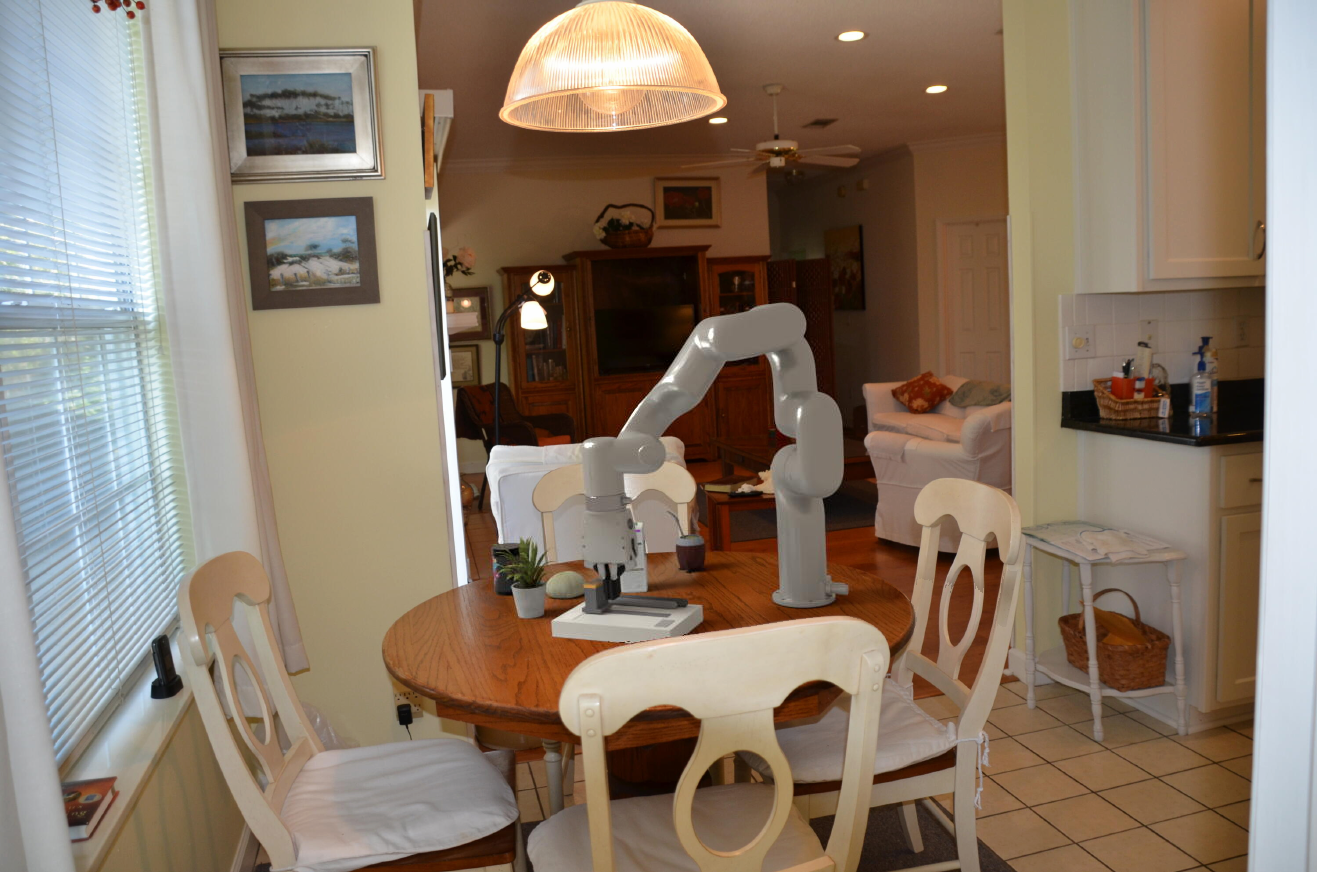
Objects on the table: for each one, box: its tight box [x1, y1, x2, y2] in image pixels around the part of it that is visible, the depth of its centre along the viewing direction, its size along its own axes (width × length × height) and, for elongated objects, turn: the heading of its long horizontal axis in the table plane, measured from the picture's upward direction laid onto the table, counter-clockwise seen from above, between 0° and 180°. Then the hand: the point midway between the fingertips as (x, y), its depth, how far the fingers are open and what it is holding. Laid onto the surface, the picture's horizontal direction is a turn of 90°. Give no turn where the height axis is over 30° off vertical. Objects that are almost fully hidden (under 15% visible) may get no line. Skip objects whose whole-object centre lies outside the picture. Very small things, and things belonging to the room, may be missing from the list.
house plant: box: [492, 536, 556, 619], centre depth 189 cm, size 14×14×16 cm
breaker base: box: [550, 593, 704, 644], centre depth 176 cm, size 24×16×5 cm, turn 66°
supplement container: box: [491, 542, 523, 596], centre depth 207 cm, size 7×7×10 cm
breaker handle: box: [582, 577, 613, 614], centre depth 178 cm, size 4×5×5 cm
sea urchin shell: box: [546, 570, 588, 599], centre depth 203 cm, size 9×8×8 cm
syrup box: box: [620, 521, 649, 594], centre depth 203 cm, size 6×6×14 cm
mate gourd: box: [666, 510, 707, 574], centre depth 217 cm, size 8×8×15 cm
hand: (612, 598), depth 177 cm, fingers closed
